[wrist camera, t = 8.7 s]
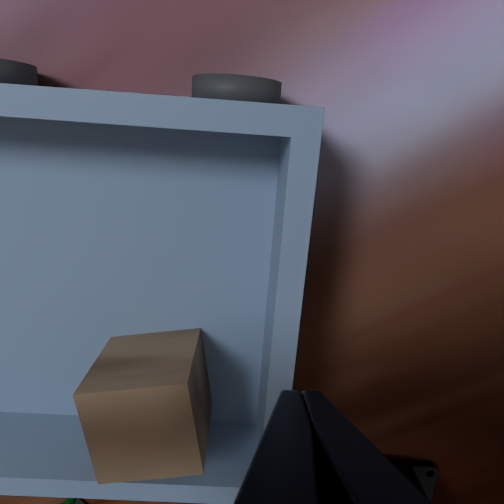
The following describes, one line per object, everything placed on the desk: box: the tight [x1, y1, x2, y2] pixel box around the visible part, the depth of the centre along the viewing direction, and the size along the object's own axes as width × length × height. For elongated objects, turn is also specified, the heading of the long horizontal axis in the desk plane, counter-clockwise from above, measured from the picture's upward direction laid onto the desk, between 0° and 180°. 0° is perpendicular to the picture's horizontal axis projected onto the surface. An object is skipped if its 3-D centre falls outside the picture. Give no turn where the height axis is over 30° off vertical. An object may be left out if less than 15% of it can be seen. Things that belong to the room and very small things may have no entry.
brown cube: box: [73, 328, 213, 484], centre depth 18 cm, size 4×4×4 cm
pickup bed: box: [0, 59, 325, 504], centre depth 18 cm, size 19×16×6 cm
